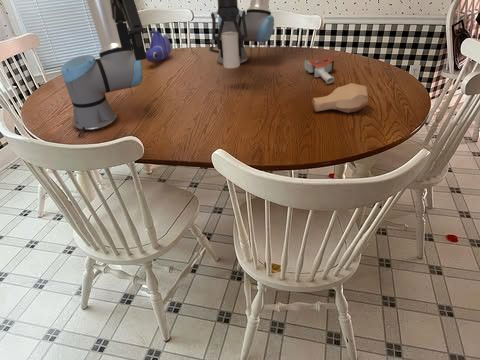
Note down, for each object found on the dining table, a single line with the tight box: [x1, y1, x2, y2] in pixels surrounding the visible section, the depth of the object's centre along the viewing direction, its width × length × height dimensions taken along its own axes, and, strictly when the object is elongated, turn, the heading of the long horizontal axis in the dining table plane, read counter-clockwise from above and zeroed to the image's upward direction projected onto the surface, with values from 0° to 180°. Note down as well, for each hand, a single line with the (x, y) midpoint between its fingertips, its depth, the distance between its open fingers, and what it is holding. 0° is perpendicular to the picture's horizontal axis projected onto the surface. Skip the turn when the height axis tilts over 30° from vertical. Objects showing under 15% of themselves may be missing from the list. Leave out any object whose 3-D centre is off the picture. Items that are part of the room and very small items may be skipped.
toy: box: [145, 30, 172, 67], centre depth 185 cm, size 10×17×25 cm
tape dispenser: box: [304, 56, 335, 85], centre depth 159 cm, size 18×5×20 cm
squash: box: [312, 82, 369, 113], centre depth 129 cm, size 11×20×9 cm, turn 92°
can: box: [221, 32, 241, 69], centre depth 146 cm, size 7×7×13 cm
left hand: (133, 53), depth 97 cm, fingers open, 13 cm apart
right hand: (231, 56), depth 148 cm, fingers closed on can, 7 cm apart
